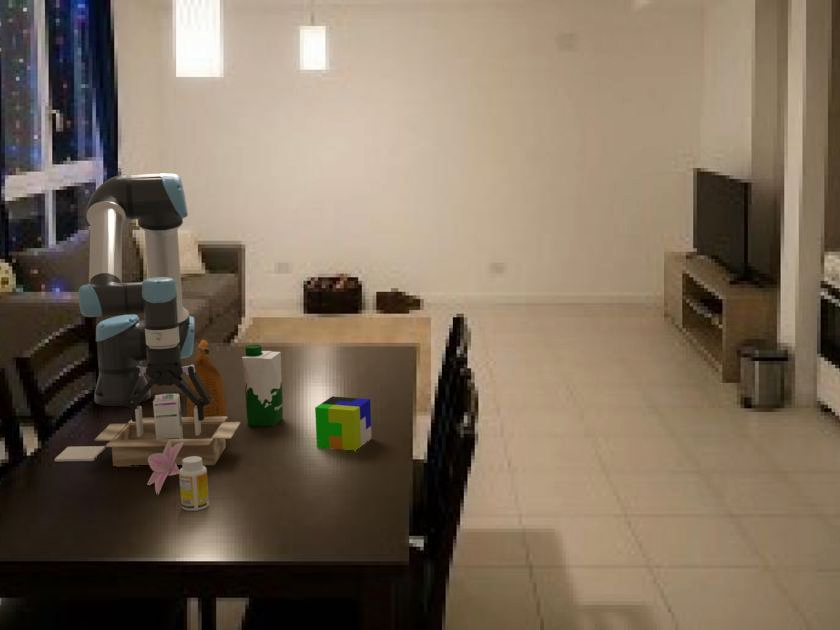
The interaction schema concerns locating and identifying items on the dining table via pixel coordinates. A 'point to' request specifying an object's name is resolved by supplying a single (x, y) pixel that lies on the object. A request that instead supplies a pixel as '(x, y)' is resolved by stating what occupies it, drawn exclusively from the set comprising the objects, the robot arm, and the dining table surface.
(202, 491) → the supplement bottle
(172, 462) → the lily
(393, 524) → the dining table surface
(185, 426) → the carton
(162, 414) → the syrup box
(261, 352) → the milk carton
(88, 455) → the plate
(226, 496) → the dining table surface
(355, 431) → the puzzle toy
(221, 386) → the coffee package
